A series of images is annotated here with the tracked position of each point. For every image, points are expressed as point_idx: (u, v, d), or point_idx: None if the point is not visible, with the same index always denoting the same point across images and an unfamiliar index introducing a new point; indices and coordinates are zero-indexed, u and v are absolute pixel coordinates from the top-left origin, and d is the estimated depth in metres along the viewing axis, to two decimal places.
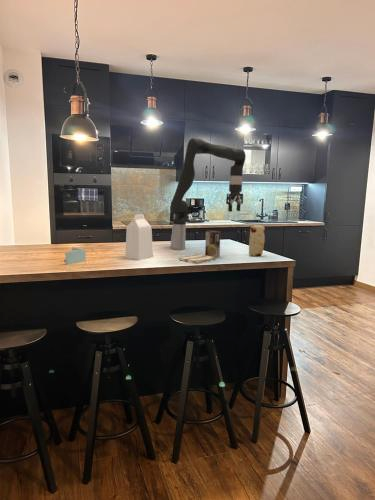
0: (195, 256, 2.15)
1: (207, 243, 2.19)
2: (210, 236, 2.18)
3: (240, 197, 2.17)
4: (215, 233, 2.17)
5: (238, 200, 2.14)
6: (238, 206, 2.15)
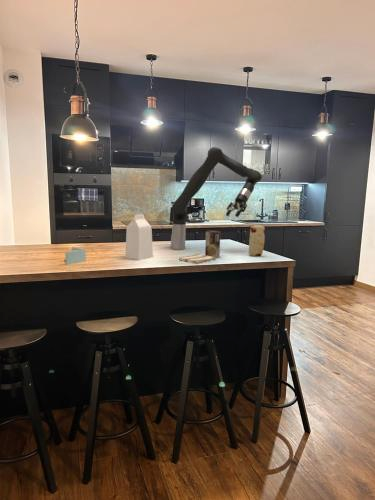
0: (195, 256, 2.15)
1: (207, 243, 2.19)
2: (210, 236, 2.18)
3: None
4: (215, 233, 2.17)
5: None
6: (229, 212, 2.35)
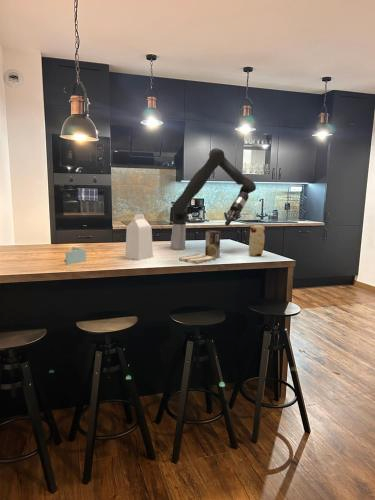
0: (195, 256, 2.15)
1: (207, 243, 2.19)
2: (210, 236, 2.18)
3: None
4: (215, 233, 2.17)
5: None
6: None
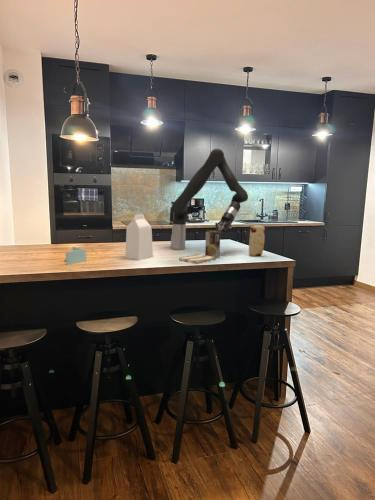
0: (195, 256, 2.15)
1: (207, 243, 2.19)
2: (210, 236, 2.18)
3: None
4: (215, 233, 2.17)
5: None
6: None
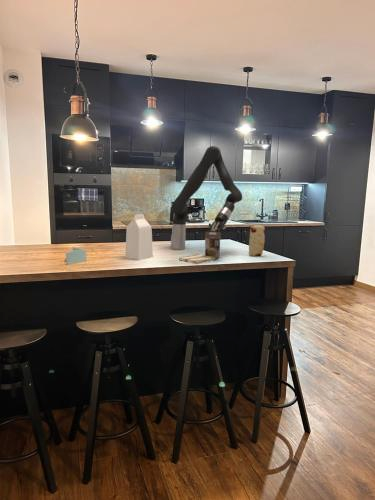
0: (195, 256, 2.15)
1: (207, 247, 2.14)
2: (209, 241, 2.11)
3: None
4: (215, 239, 2.10)
5: None
6: None
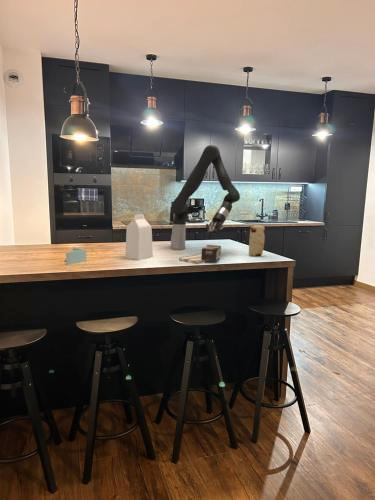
0: (195, 256, 2.15)
1: None
2: None
3: None
4: (211, 259, 2.06)
5: None
6: None
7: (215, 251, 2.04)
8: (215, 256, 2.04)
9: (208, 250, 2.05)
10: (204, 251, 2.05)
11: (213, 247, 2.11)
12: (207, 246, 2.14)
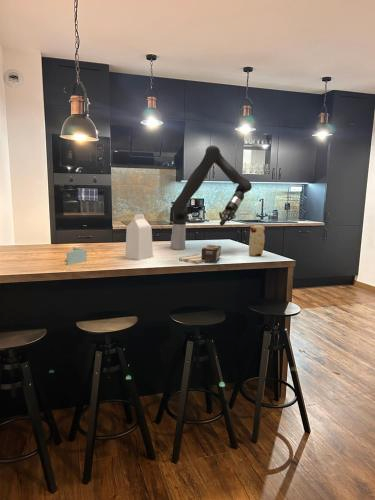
0: (195, 256, 2.15)
1: None
2: None
3: None
4: (211, 259, 2.06)
5: None
6: None
7: (215, 251, 2.04)
8: (215, 256, 2.04)
9: (208, 250, 2.05)
10: (204, 251, 2.05)
11: (213, 247, 2.11)
12: (207, 246, 2.14)
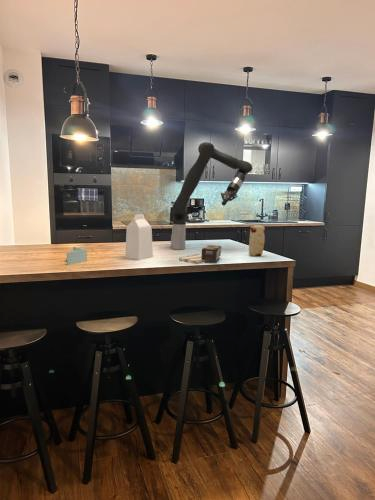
0: (195, 256, 2.15)
1: None
2: None
3: (222, 195, 2.38)
4: (211, 259, 2.06)
5: None
6: None
7: (215, 251, 2.04)
8: (215, 256, 2.04)
9: (208, 250, 2.05)
10: (204, 251, 2.05)
11: (213, 247, 2.11)
12: (207, 246, 2.14)
